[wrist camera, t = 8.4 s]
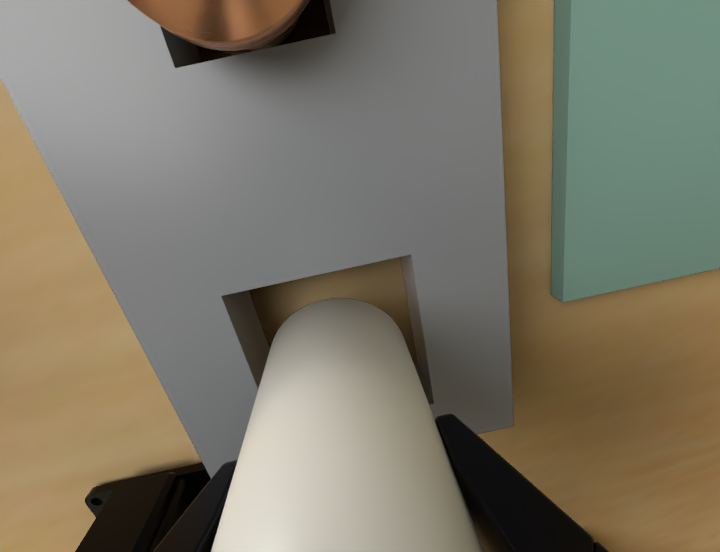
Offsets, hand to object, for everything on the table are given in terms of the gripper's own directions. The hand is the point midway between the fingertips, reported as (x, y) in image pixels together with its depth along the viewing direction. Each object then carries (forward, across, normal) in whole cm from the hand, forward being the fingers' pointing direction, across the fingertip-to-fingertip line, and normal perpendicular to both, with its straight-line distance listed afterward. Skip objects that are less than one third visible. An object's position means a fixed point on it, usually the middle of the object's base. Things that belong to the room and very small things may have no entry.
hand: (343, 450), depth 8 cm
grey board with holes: (+6, 0, -4) cm, 7 cm away
